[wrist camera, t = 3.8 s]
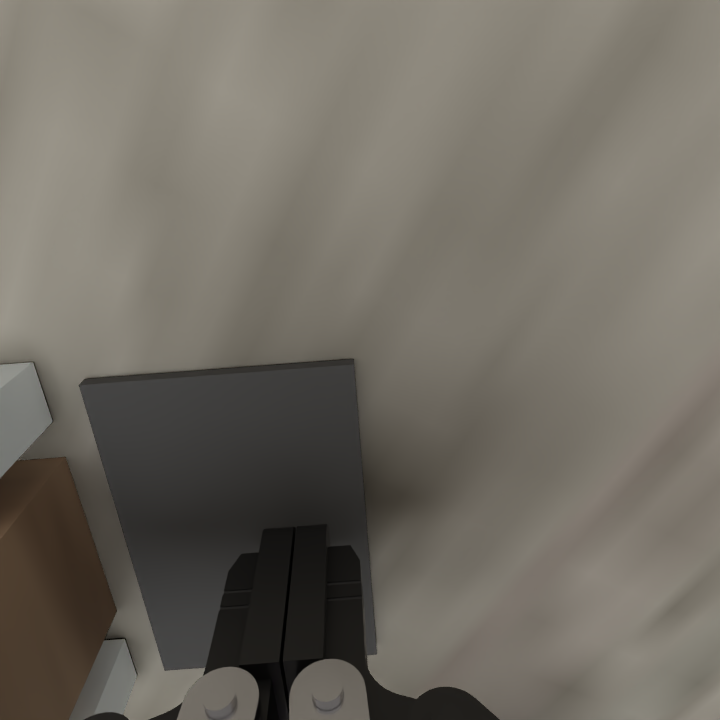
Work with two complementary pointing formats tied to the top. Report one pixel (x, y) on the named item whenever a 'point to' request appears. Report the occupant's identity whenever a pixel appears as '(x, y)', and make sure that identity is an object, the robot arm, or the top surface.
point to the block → (47, 592)
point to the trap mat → (226, 480)
